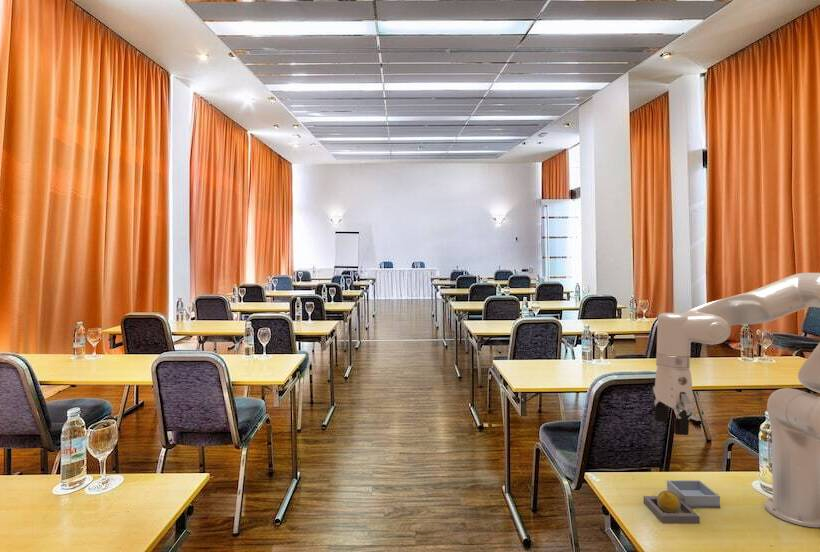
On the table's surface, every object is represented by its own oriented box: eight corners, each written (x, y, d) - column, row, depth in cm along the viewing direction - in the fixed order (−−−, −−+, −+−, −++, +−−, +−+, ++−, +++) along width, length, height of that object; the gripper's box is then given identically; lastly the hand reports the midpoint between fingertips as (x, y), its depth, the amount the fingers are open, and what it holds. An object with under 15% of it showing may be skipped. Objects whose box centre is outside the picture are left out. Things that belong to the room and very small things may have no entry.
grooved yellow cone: (686, 513, 118) (682, 498, 112) (666, 520, 119) (661, 506, 113) (674, 493, 122) (669, 478, 116) (654, 500, 123) (649, 485, 117)
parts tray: (699, 491, 128) (699, 480, 128) (720, 507, 119) (719, 496, 119) (667, 491, 129) (666, 480, 129) (684, 507, 120) (684, 496, 120)
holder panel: (677, 502, 122) (677, 496, 122) (699, 523, 112) (699, 516, 112) (643, 502, 123) (643, 496, 123) (662, 523, 113) (662, 516, 113)
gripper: (708, 369, 108) (706, 440, 108) (670, 355, 125) (668, 417, 126) (676, 368, 108) (673, 439, 109) (642, 354, 126) (640, 416, 126)
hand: (670, 427), depth 117 cm, fingers open, 9 cm apart
